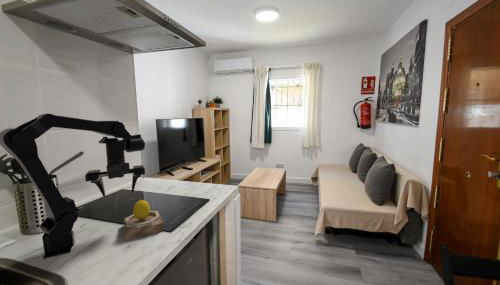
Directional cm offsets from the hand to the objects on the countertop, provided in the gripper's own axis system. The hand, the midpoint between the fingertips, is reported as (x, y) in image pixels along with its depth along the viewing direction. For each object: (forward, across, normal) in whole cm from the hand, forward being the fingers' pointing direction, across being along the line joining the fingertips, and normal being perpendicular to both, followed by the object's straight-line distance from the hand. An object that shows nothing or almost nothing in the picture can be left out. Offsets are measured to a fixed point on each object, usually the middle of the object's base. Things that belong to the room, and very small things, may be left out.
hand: (118, 194), depth 83 cm
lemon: (+9, +7, -8) cm, 14 cm away
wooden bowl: (+12, +7, -8) cm, 16 cm away
